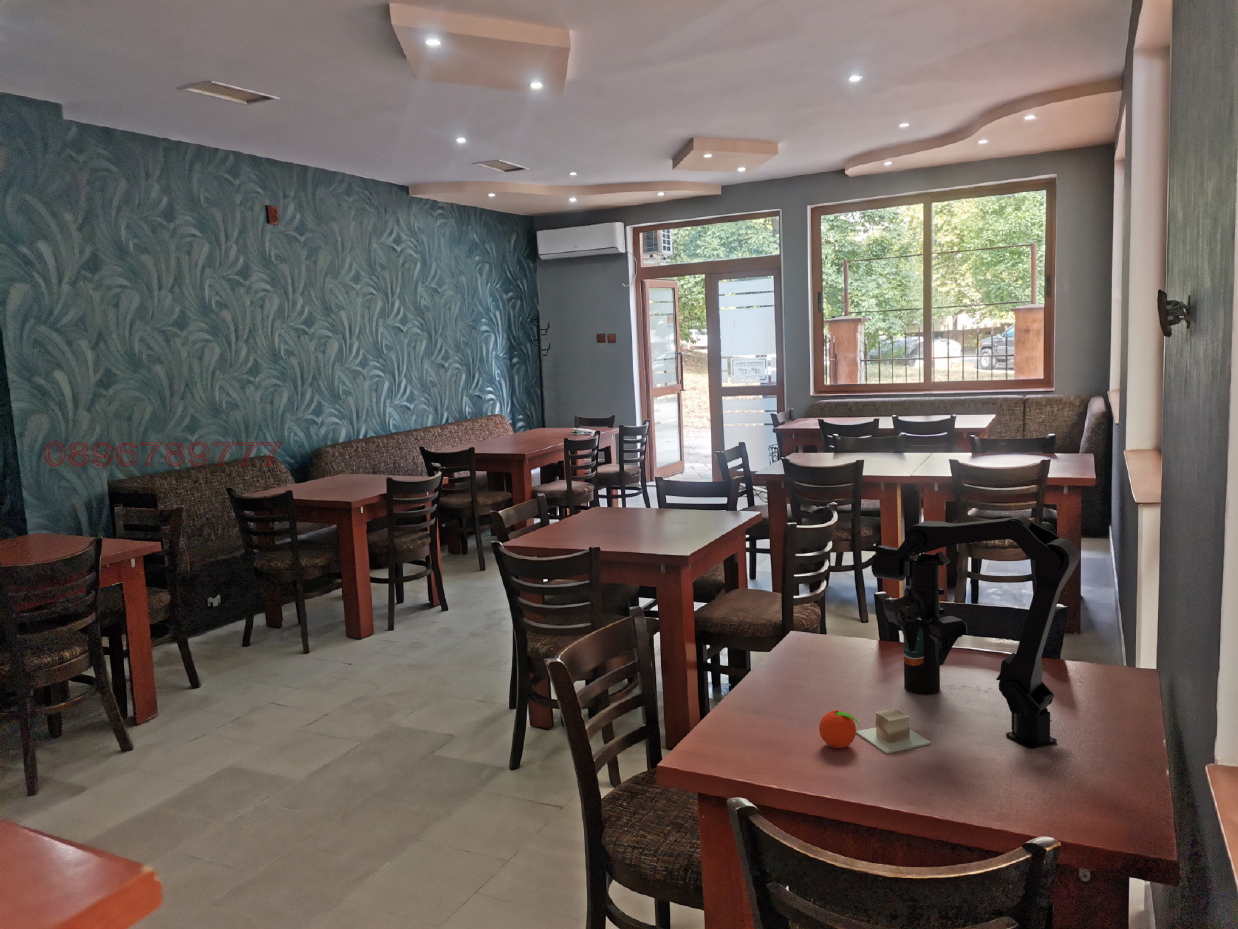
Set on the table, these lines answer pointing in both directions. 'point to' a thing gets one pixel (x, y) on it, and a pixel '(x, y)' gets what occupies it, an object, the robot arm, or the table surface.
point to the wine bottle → (922, 664)
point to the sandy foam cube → (892, 725)
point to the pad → (896, 746)
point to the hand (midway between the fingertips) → (925, 658)
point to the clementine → (837, 729)
